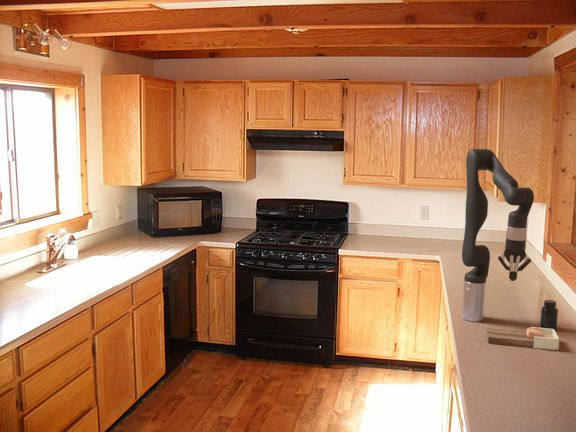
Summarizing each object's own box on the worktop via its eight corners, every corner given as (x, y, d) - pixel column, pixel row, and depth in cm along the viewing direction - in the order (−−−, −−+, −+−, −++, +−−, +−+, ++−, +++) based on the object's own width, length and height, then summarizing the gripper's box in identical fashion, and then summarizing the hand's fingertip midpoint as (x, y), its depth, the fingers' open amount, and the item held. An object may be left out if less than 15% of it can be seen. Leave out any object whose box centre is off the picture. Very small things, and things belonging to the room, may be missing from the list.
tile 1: (525, 333, 251) (527, 327, 250) (538, 336, 250) (540, 330, 250) (528, 337, 246) (529, 331, 245) (541, 340, 245) (542, 334, 245)
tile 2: (538, 339, 250) (539, 333, 250) (552, 340, 249) (552, 334, 249) (541, 344, 245) (541, 338, 245) (554, 345, 244) (555, 339, 244)
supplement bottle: (543, 324, 271) (545, 297, 269) (559, 328, 266) (561, 301, 264) (536, 328, 266) (539, 301, 264) (552, 332, 261) (555, 304, 259)
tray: (529, 337, 254) (530, 326, 253) (552, 339, 252) (553, 329, 251) (533, 348, 242) (534, 336, 242) (558, 350, 240) (559, 339, 240)
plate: (486, 333, 257) (486, 328, 257) (529, 338, 253) (530, 332, 253) (488, 343, 247) (488, 337, 246) (533, 347, 243) (533, 341, 242)
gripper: (532, 237, 246) (528, 279, 249) (497, 235, 249) (494, 276, 252) (535, 240, 239) (531, 284, 242) (499, 238, 242) (495, 281, 245)
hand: (512, 280), depth 247 cm, fingers closed
